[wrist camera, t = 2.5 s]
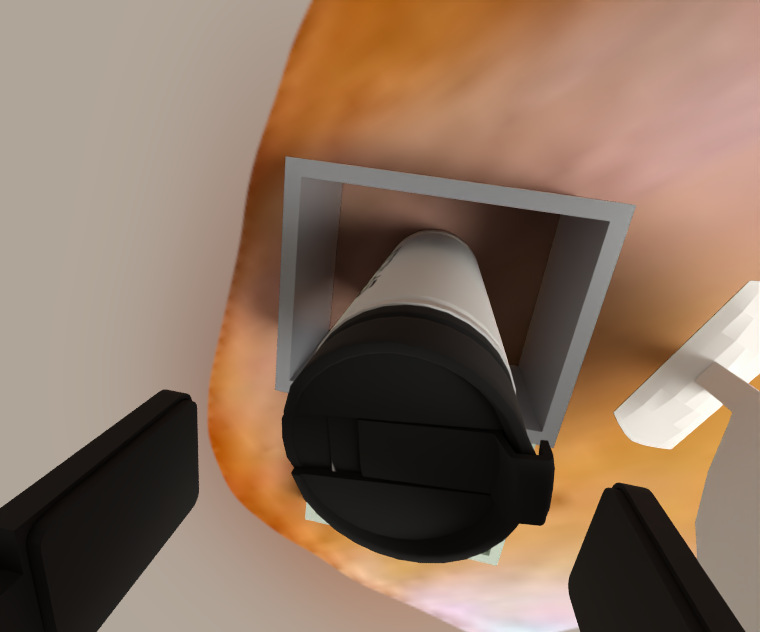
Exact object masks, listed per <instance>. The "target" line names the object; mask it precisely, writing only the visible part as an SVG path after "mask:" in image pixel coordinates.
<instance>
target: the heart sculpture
mask: <svg viewBox="0 0 760 632" xmlns="http://www.w3.org/2000/svg"><path fill="white" fill-rule="evenodd" d="M758 374H760V281H749V282H748V283H747V284H746V285H745V286H744V287H743V288H742V289H741V290H740V291H739V292H738V293H737V294H736V295H735V296H734V297H733V298H732V299H731V300H730V301H728V302H727V303H726V304H725V305H724V306H723V307H722V308H721V309H720V310H719V311H718V312H717V313H716V314H715V315H714V316H713V317H712V318H711V319H710V320H709V321H708V322H707V323H706V324H705V325H704V326H703V327H702V328H700V329H699V330H698V331H697V332H696V333H695V334H694V335H693V336H692V337H691V338H690V339H689V340H688V341H687V342H686V343H685V344H684V345H683V346H682V347H681V348H680V349H679V350H678V351H677V352H676V353H675V354H674V355H672V356H671V357H670V358H669V359H668V360H667V361H666V362H665V363H664V364H663V365H662V366H661V367H660V368H659V369H658V370H657V371H656V372H655V373H654V374H653V375H652V376H651V377H650V378H649V379H648V380H647V381H646V382H645V383H643V384H642V385H641V386H640V387H639V388H638V389H637V390H636V391H635V392H634V393H633V394H632V395H631V396H630V397H629V398H628V399H627V400H626V401H625V402H624V403H623V404H622V405H621V406H620V407H619V408H618V409H617V410H615V411H614V415H615V417H616V419H617V421H618V423H619V425H620V427H621V428H622V430H623V432H624V433H625V434H626V435H627V436H628V437H629V438H630V439H631V441H634V442H637V443H639V444H642V445H646V446H651V447H656V448H665V449H672V448H673V447H674V446H675V445H677V444H678V443H679V442H680V441H681V440H683V439H684V438H685V437H686V436H687V435H688V434H690V433H691V432H692V431H693V430H694V429H695V428H697V427H698V426H699V425H700V424H701V423H702V422H704V421H705V420H706V419H707V418H708V417H709V416H711V415H712V414H713V413H714V412H715V411H716V410H718V409H719V408H720V407H721V406H722V405H724V406H726V407H727V408H728V409H729V410H730V411H732V415H731V418H730V421H729V424H728V426H727V428H726V431H725V433H724V435H723V438H722V440H721V442H720V445H719V447H718V449H717V452H716V454H715V456H714V459H713V461H712V464H711V466H710V468H709V471H708V474H707V478H706V482H705V486H704V490H703V494H702V498H701V502H700V506H699V510H698V514H697V517H696V521H695V527H696V544H697V560H698V562H699V563H700V565H701V566H702V568H703V569H704V571H705V572H706V574H707V575H708V577H709V578H710V580H711V581H712V582H713V584H714V585H715V587H716V588H717V590H718V591H719V593H720V594H721V596H722V597H723V599H724V600H725V602H726V603H727V605H728V606H729V608H730V609H731V611H732V612H733V614H734V615H735V617H736V618H737V620H738V621H739V623H740V624H741V626H742V627H743V629H744V630H745V632H760V391H759V390H757V389H756V388H754V387H753V386H752V385H750V384H749V382H750V381H751V380H753V379H754V378H755V377H756V376H757V375H758Z"/></svg>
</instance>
